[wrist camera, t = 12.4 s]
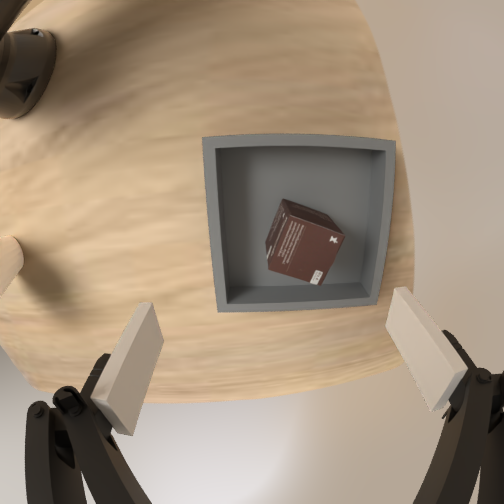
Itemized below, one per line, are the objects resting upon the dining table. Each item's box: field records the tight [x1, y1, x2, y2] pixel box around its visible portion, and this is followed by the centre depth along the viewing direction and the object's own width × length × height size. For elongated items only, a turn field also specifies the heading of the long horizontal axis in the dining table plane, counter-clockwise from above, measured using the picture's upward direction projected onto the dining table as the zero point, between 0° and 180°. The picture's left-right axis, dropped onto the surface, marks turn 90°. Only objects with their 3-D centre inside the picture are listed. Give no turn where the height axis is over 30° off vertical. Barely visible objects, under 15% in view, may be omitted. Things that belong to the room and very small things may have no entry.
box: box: [265, 199, 345, 286], centre depth 29 cm, size 6×6×7 cm
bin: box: [202, 134, 396, 312], centre depth 31 cm, size 20×20×5 cm
